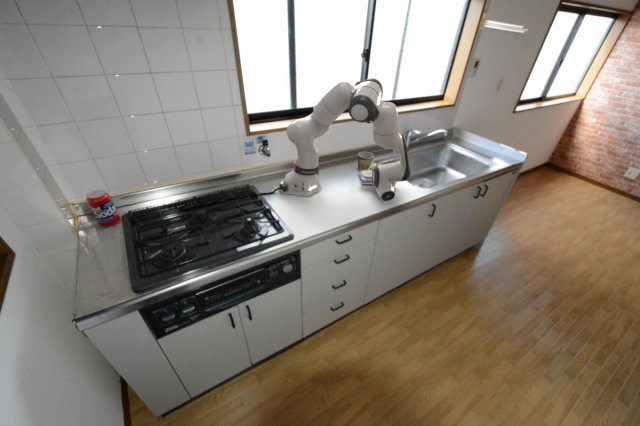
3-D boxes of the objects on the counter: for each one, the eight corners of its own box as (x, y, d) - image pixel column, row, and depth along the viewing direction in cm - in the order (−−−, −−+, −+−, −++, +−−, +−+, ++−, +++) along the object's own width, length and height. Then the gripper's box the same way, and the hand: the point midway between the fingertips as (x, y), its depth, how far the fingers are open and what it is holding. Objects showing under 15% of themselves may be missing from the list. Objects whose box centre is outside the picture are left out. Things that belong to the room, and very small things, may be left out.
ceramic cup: (367, 174, 168) (369, 159, 162) (352, 169, 172) (354, 155, 166) (375, 167, 177) (378, 152, 171) (361, 162, 181) (364, 148, 175)
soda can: (115, 214, 125) (101, 186, 116) (124, 221, 121) (110, 192, 112) (96, 223, 119) (80, 194, 110) (105, 230, 116) (89, 200, 107)
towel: (362, 184, 158) (362, 184, 157) (358, 175, 167) (358, 174, 167) (387, 185, 159) (387, 184, 159) (382, 175, 168) (382, 174, 168)
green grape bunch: (370, 180, 159) (373, 163, 153) (368, 175, 164) (370, 158, 158) (380, 180, 160) (383, 163, 153) (378, 175, 165) (381, 159, 158)
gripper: (361, 185, 150) (357, 173, 161) (397, 186, 151) (391, 174, 162) (363, 175, 146) (358, 164, 157) (400, 176, 147) (393, 164, 159)
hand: (375, 169), depth 160 cm, fingers closed on green grape bunch, 6 cm apart
